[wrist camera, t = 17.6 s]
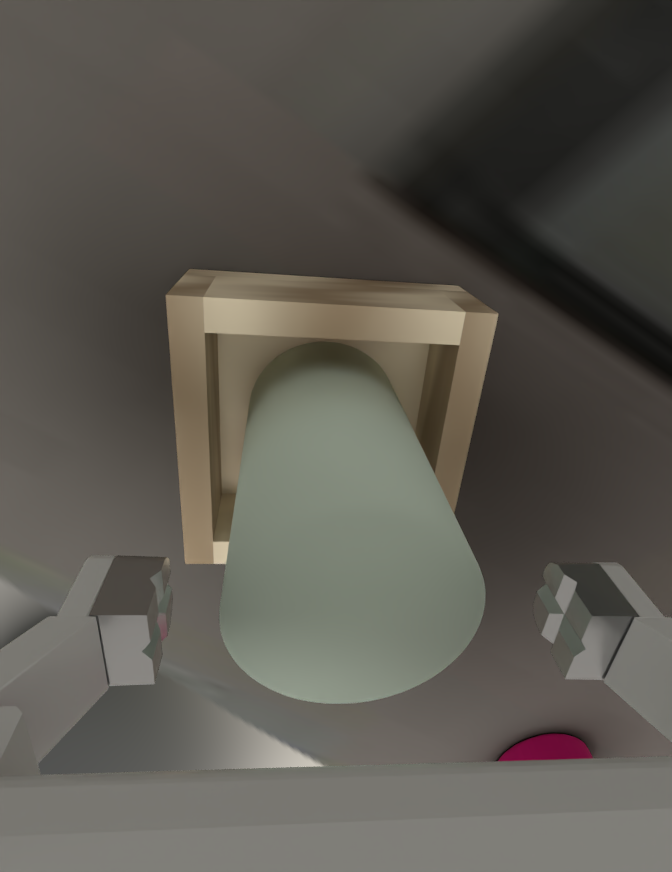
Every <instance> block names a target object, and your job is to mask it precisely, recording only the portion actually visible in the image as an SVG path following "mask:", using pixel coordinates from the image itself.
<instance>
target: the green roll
mask: <svg viewBox="0 0 672 872" xmlns="http://www.w3.org/2000/svg"><path fill="white" fill-rule="evenodd" d="M485 593H486V591H485V584H484V578H483V575H482V573H481V570H480V567H479V565H478V563H477V561H476V559H475V556H474V554H473V552H472V550H471V548H470V546H469V544H468V542H467V540H466V538H465V536H464V534H463V532H462V530H461V527H460V525H459V523H458V521H457V519H456V517H455V515H454V513H453V511H452V509H451V507H450V505H449V503H448V501H447V499H446V496H445V494H444V492H443V490H442V488H441V486H440V484H439V482H438V480H437V478H436V476H435V474H434V472H433V470H432V467H431V465H430V463H429V461H428V459H427V457H426V455H425V453H424V451H423V449H422V447H421V445H420V443H419V441H418V439H417V436H416V434H415V432H414V430H413V428H412V426H411V424H410V422H409V420H408V418H407V416H406V414H405V412H404V410H403V407H402V405H401V403H400V401H399V399H398V397H397V395H396V393H395V391H394V389H393V387H392V385H391V383H390V381H389V379H388V377H387V375H386V373H385V372H384V371H383V369H382V368H381V367H380V365H379V364H378V363H377V362H376V361H375V360H374V359H372V358H371V357H370V356H368V355H367V354H366V353H364V352H362V351H360V350H359V349H357V348H354V347H352V346H349V345H346V344H342V343H337V342H312V343H306V344H303V345H299V346H296V347H294V348H292V349H289V350H287V351H286V352H284V353H282V354H280V355H279V356H278V357H276V358H275V359H274V360H272V361H271V362H270V363H269V364H268V365H267V366H266V367H265V369H264V370H263V371H262V373H261V374H260V375H259V377H258V379H257V381H256V383H255V385H254V387H253V390H252V393H251V398H250V403H249V409H248V416H247V423H246V430H245V437H244V444H243V451H242V458H241V464H240V471H239V478H238V485H237V492H236V499H235V506H234V512H233V519H232V526H231V533H230V540H229V547H228V554H227V560H226V567H225V574H224V581H223V588H222V595H221V602H220V612H219V622H220V630H221V634H222V638H223V641H224V644H225V646H226V648H227V650H228V651H229V653H230V655H231V657H232V658H233V659H234V661H235V662H236V663H237V665H238V666H239V667H240V668H241V669H242V670H243V671H244V672H245V673H246V674H248V675H249V676H250V677H251V678H253V679H254V680H256V681H257V682H258V683H260V684H262V685H264V686H265V687H267V688H269V689H271V690H273V691H275V692H278V693H280V694H283V695H285V696H289V697H292V698H295V699H299V700H304V701H309V702H316V703H326V704H349V703H360V702H367V701H373V700H378V699H382V698H386V697H390V696H393V695H396V694H399V693H402V692H404V691H407V690H409V689H411V688H414V687H416V686H418V685H420V684H422V683H424V682H425V681H427V680H429V679H431V678H432V677H434V676H435V675H437V674H438V673H440V672H441V671H443V670H444V669H445V668H446V667H447V666H449V665H450V664H451V663H452V662H453V661H454V660H455V659H456V658H457V657H458V656H459V655H460V654H461V653H462V652H463V651H464V650H465V648H466V647H467V646H468V644H469V643H470V642H471V640H472V639H473V637H474V635H475V633H476V631H477V630H478V627H479V625H480V622H481V619H482V617H483V612H484V607H485Z"/></svg>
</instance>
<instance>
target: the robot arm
mask: <svg viewBox="0 0 672 872" xmlns="http://www.w3.org/2000/svg"><path fill="white" fill-rule="evenodd" d="M170 573H171V571H170V562H169V559H168V558H167V557H147V556H119V555H118V556H106V555H91V556H90V557H89V558H88V559H86V561H85V563H84V565H83V566H82V568H81V570H80V572H79V574H78V576H77V578H76V580H75V582H74V584H73V586H72V588H71V590H70V592H69V593H68V595H67V597H66V599H65V601H64V603H63V605H62V607H61V609H60V611H59V613H58V615H57V616H49V617H47V618H46V619H44V620H43V621H41V622H40V623H38V624H37V625H35V626H34V627H32V628H31V629H30V630H28V631H27V632H25V633H24V634H23V635H21V636H19V637H18V638H16V639H15V640H13V641H12V642H11V643H9V644H8V645H6V646H5V647H3V648H2V649H0V872H672V756H658V757H624V758H591V759H559V760H527V761H494V762H461V763H426V764H392V765H358V766H324V767H290V768H258V769H224V770H190V771H156V772H126V773H125V772H123V773H91V774H57V775H41V774H40V770H39V767H38V763H39V762H40V761H41V760H42V759H43V758H44V757H45V756H46V755H47V753H48V752H49V751H50V750H51V749H52V748H53V747H54V746H55V745H56V744H57V743H58V742H59V741H60V740H61V739H62V738H63V737H64V735H65V734H66V733H67V732H68V731H69V730H70V729H71V728H72V727H73V726H74V725H75V724H76V723H77V722H78V721H79V719H80V718H81V717H82V716H83V715H84V714H85V713H86V712H87V711H88V710H89V709H90V708H91V707H92V706H93V705H94V703H96V701H97V700H98V699H99V698H100V697H101V696H102V695H103V694H104V693H105V692H106V691H107V690H108V686H116V685H117V686H118V685H142V684H155V681H156V678H157V674H158V670H159V666H160V663H161V659H162V655H163V653H162V642H161V641H162V640H163V639H165V638H166V637H167V636H168V632H169V628H170V623H171V616H172V604H173V596H172V588H171V587H170V586H169V585H168V584H167V583H168V580H169V576H170ZM542 577H543V579H544V581H545V583H546V584H545V585H544V586H543V587H542V588H540V589H539V590H538V591H537V592H536V596H535V599H534V602H533V611H534V619H535V622H536V625H537V627H538V629H539V631H540V633H541V635H542V636H543V637H545V638H546V639H547V640H549V641H550V642H551V643H553V644H552V648H551V654H552V656H553V658H554V660H555V662H556V663H557V665H558V667H559V669H560V671H561V673H562V675H563V676H564V678H565V679H589V680H604V681H603V682H604V683H605V684H606V685H608V686H609V687H610V688H611V689H612V690H613V691H614V692H615V693H616V694H618V695H619V696H620V697H621V698H622V699H623V700H624V701H625V702H627V703H628V704H629V705H630V706H631V707H632V708H633V709H634V710H636V711H637V712H638V713H639V714H640V715H641V716H642V717H643V718H645V719H646V720H647V721H648V722H649V723H650V724H651V725H652V726H654V727H655V728H656V729H657V730H658V731H659V732H660V733H661V734H663V735H664V736H665V737H666V738H667V739H668V740H669V741H670V742H672V617H664V616H663V615H662V613H661V612H660V611H659V610H658V608H657V607H656V606H655V605H654V604H653V602H652V601H651V600H650V599H649V598H648V596H647V595H646V594H645V593H644V592H643V590H642V589H641V588H640V587H639V586H638V584H637V583H636V582H635V581H634V580H633V578H632V577H631V576H630V575H629V573H628V572H627V571H626V570H625V569H624V567H623V566H621V565H620V564H618V563H616V562H594V563H562V562H550V563H549V564H548V565H547V566H546V567H545V570H544V573H543V575H542Z"/></svg>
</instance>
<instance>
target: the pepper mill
mask: <svg viewBox="0 0 672 872" xmlns="http://www.w3.org/2000/svg"><path fill="white" fill-rule="evenodd" d="M591 758H593V757H592V755H591V753H590V751H589V749H588V747H587V746H586V744H585V743H584V742H582V741H581V740H580V739H578V738H576V737H573V736H570V735H566V734H544V735H540V736H536V737H533V738H529V739H527V740H524V741H522V742H520V743H518V744H516V745H514V746H513V747H512V748H510V749H509V750H507V751H506V752H505V753H504V754H503V755H502V756H501V757H500V759H499V760H498V761H527V760H559V759H591Z"/></svg>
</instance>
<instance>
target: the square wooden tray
mask: <svg viewBox="0 0 672 872" xmlns="http://www.w3.org/2000/svg"><path fill="white" fill-rule="evenodd" d="M166 307H167V321H168V334H169V348H170V362H171V375H172V389H173V403H174V417H175V430H176V444H177V458H178V472H179V485H180V499H181V513H182V527H183V540H184V554H185V564H226V560H227V554H228V547H229V540H230V533H231V526H232V519H233V512H234V506H235V499H236V492H237V485H238V478H239V471H240V464H241V458H242V451H243V444H244V437H245V430H246V423H247V416H248V409H249V403H250V398H251V393H252V390H253V387H254V385H255V383H256V381H257V379H258V377H259V375H260V374H261V373H262V371H263V370H264V369H265V367H266V366H267V365H268V364H269V363H270V362H271V361H272V360H274V359H275V358H276V357H278V356H279V355H280V354H282V353H284V352H286V351H287V350H289V349H292V348H294V347H296V346H299V345H303V344H306V343H312V342H337V343H342V344H346V345H349V346H352V347H354V348H357V349H359V350H360V351H362V352H364V353H366V354H367V355H368V356H370V357H371V358H372V359H374V360H375V361H376V362H377V363H378V364H379V365H380V367H381V368H382V369H383V371H384V372H385V373H386V375H387V377H388V379H389V381H390V383H391V385H392V387H393V389H394V391H395V393H396V395H397V397H398V399H399V401H400V403H401V405H402V407H403V410H404V412H405V414H406V416H407V418H408V420H409V422H410V424H411V426H412V428H413V430H414V432H415V434H416V436H417V439H418V441H419V443H420V445H421V447H422V449H423V451H424V453H425V455H426V457H427V459H428V461H429V463H430V465H431V467H432V470H433V472H434V474H435V476H436V478H437V480H438V482H439V484H440V486H441V488H442V490H443V492H444V494H445V496H446V499H447V501H448V503H449V505H450V507H451V509H452V511H453V513H454V512H455V508H456V503H457V499H458V494H459V490H460V485H461V481H462V476H463V472H464V467H465V463H466V459H467V454H468V450H469V445H470V441H471V436H472V432H473V427H474V423H475V418H476V414H477V409H478V405H479V400H480V396H481V391H482V387H483V382H484V378H485V373H486V369H487V364H488V360H489V355H490V351H491V346H492V342H493V337H494V333H495V328H496V324H497V319H498V315H499V314H498V313H497V312H495V311H494V310H492V309H491V308H489V307H488V306H487V305H485V304H484V303H482V302H481V301H479V300H478V299H477V298H475V297H474V296H472V295H471V294H469V293H468V292H467V291H465V290H464V289H462V288H461V287H459V286H455V285H439V284H423V283H407V282H391V281H375V280H359V279H343V278H327V277H311V276H295V275H279V274H263V273H247V272H231V271H215V270H199V269H189V270H188V271H187V272H186V273H185V274H184V275H183V276H182V277H181V279H180V280H179V281H178V282H177V283H176V284H175V285H174V286H173V287H172V288H171V290H170V291H169V292H168V293H167V294H166Z"/></svg>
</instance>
